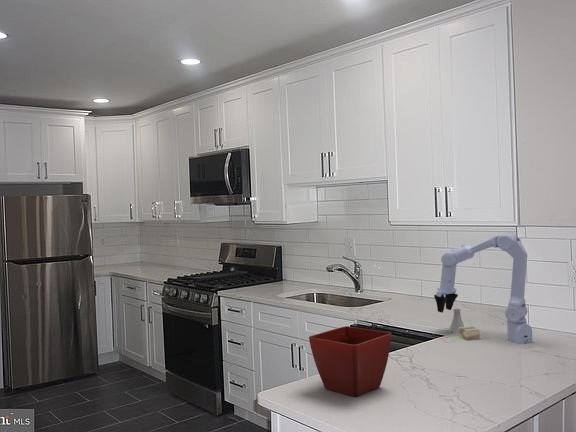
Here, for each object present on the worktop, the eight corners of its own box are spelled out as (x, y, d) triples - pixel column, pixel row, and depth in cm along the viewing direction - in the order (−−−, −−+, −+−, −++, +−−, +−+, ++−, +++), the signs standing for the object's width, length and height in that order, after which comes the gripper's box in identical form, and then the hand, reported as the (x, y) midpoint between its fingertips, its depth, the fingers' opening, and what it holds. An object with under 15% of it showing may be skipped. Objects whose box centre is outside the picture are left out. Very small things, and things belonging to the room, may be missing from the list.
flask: (455, 334, 235) (454, 311, 235) (446, 330, 242) (445, 308, 242) (469, 332, 237) (468, 310, 237) (460, 329, 244) (459, 307, 244)
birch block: (479, 339, 219) (479, 329, 219) (466, 340, 218) (466, 330, 218) (471, 335, 225) (471, 326, 225) (458, 337, 223) (458, 327, 223)
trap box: (489, 342, 219) (489, 338, 219) (447, 346, 215) (447, 342, 215) (479, 338, 226) (479, 334, 226) (439, 342, 222) (439, 338, 222)
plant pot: (308, 389, 169) (307, 336, 169) (347, 375, 182) (345, 325, 182) (357, 403, 155) (355, 345, 155) (395, 386, 169) (393, 333, 169)
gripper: (447, 276, 240) (443, 306, 241) (431, 279, 230) (427, 310, 231) (462, 279, 235) (458, 310, 237) (446, 283, 225) (443, 314, 226)
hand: (444, 310), depth 233 cm, fingers open, 7 cm apart
